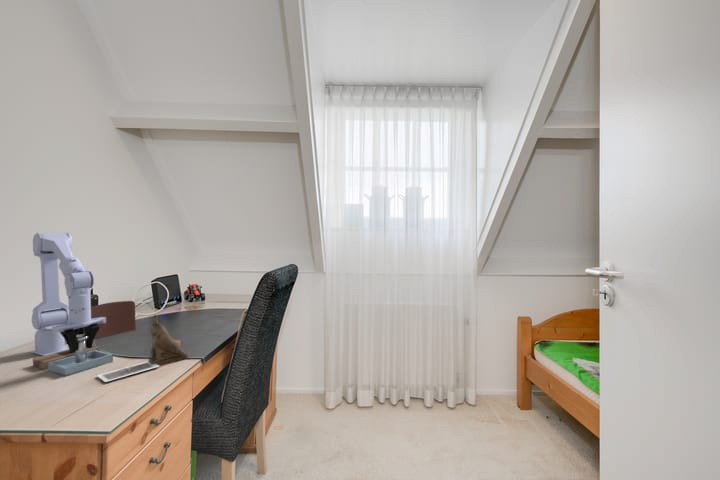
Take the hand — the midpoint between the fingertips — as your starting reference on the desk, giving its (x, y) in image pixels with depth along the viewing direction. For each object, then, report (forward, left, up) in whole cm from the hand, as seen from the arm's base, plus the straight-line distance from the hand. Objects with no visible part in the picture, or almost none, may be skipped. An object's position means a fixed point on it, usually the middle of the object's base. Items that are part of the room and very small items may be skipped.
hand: (81, 349), depth 116 cm
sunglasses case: (+12, +23, -6) cm, 27 cm away
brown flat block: (-10, +1, -5) cm, 12 cm away
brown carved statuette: (+22, +16, -6) cm, 27 cm away
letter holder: (-33, +25, -6) cm, 41 cm away
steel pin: (0, 0, -4) cm, 4 cm away
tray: (0, 0, -5) cm, 5 cm away
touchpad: (+20, +3, -6) cm, 21 cm away
